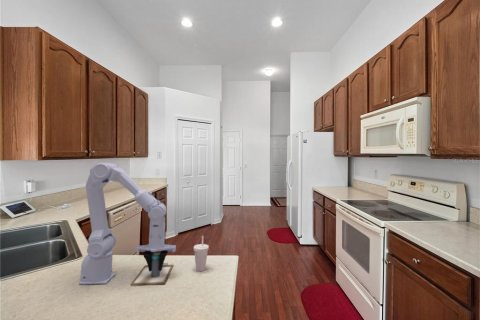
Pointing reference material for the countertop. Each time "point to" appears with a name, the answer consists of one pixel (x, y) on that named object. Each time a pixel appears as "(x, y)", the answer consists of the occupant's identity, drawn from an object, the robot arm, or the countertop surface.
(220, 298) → the countertop surface
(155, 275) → the bottle
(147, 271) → the picture frame
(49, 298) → the countertop surface
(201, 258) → the smoothie
